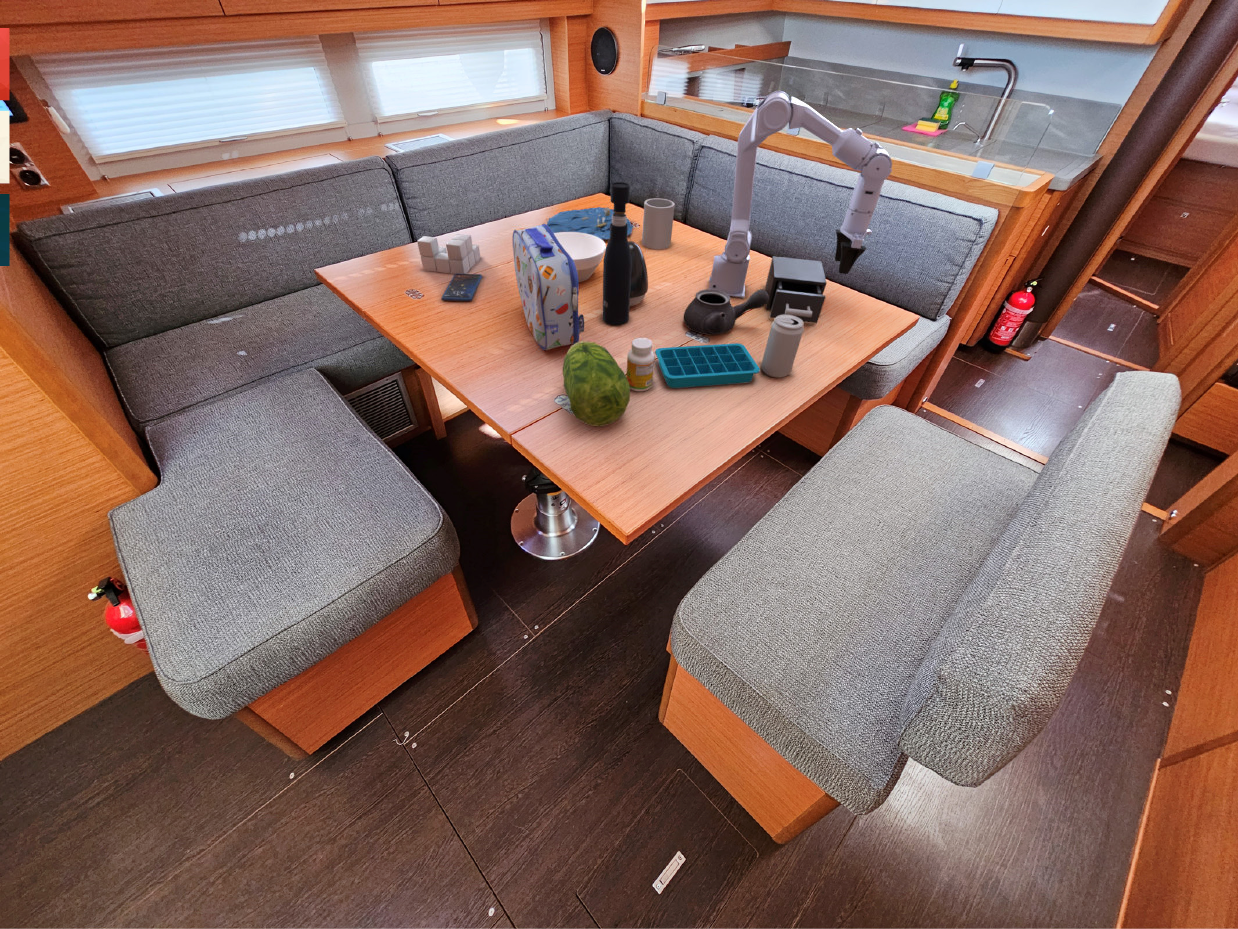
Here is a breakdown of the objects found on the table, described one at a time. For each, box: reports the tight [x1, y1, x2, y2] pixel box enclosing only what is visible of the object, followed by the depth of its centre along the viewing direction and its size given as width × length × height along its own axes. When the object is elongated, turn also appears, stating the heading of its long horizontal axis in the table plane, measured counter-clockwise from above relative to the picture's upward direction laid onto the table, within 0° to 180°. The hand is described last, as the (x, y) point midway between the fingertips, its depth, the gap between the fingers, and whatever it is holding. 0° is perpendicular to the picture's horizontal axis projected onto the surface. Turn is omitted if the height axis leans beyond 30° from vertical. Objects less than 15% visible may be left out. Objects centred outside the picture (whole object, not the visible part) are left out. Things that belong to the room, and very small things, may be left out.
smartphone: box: [440, 273, 483, 302], centre depth 134 cm, size 8×1×15 cm
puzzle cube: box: [416, 233, 482, 275], centre depth 142 cm, size 12×12×8 cm
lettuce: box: [562, 340, 631, 427], centre depth 97 cm, size 12×21×11 cm, turn 16°
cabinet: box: [764, 255, 827, 311], centre depth 133 cm, size 14×13×9 cm
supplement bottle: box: [625, 337, 656, 392], centre depth 102 cm, size 5×5×10 cm
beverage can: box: [760, 315, 805, 379], centre depth 107 cm, size 6×6×12 cm
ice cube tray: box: [654, 342, 761, 389], centre depth 109 cm, size 12×20×3 cm, turn 100°
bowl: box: [554, 231, 607, 283], centre depth 140 cm, size 19×19×8 cm
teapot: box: [683, 288, 769, 336], centre depth 120 cm, size 19×15×10 cm
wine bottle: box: [601, 181, 632, 327], centre depth 115 cm, size 6×6×30 cm
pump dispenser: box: [628, 240, 649, 307], centre depth 127 cm, size 10×10×15 cm
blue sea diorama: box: [546, 206, 634, 240], centre depth 169 cm, size 30×30×5 cm
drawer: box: [769, 281, 826, 324], centre depth 127 cm, size 17×11×7 cm
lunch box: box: [512, 223, 585, 351], centre depth 113 cm, size 28×10×22 cm, turn 22°
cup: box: [641, 197, 676, 250], centre depth 158 cm, size 9×9×12 cm
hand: (841, 266), depth 129 cm, fingers open, 7 cm apart
